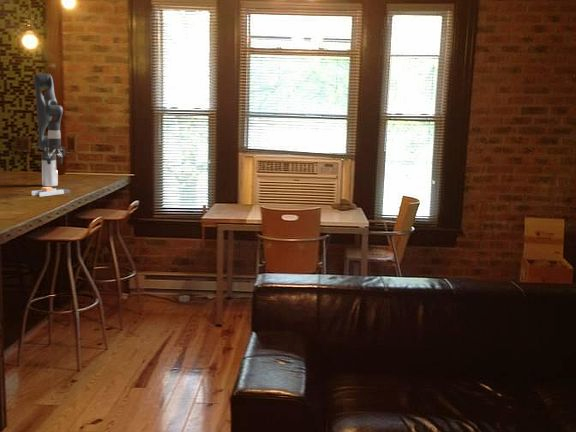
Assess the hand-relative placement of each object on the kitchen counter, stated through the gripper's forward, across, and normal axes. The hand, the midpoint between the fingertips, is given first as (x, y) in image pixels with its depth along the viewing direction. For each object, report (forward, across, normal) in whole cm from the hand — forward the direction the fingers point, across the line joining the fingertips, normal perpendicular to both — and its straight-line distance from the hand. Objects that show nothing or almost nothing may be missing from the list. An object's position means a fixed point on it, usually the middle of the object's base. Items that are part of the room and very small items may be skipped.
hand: (54, 163), depth 418 cm
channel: (+19, +6, 0) cm, 20 cm away
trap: (+18, -5, 0) cm, 19 cm away
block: (+19, +6, 0) cm, 20 cm away
